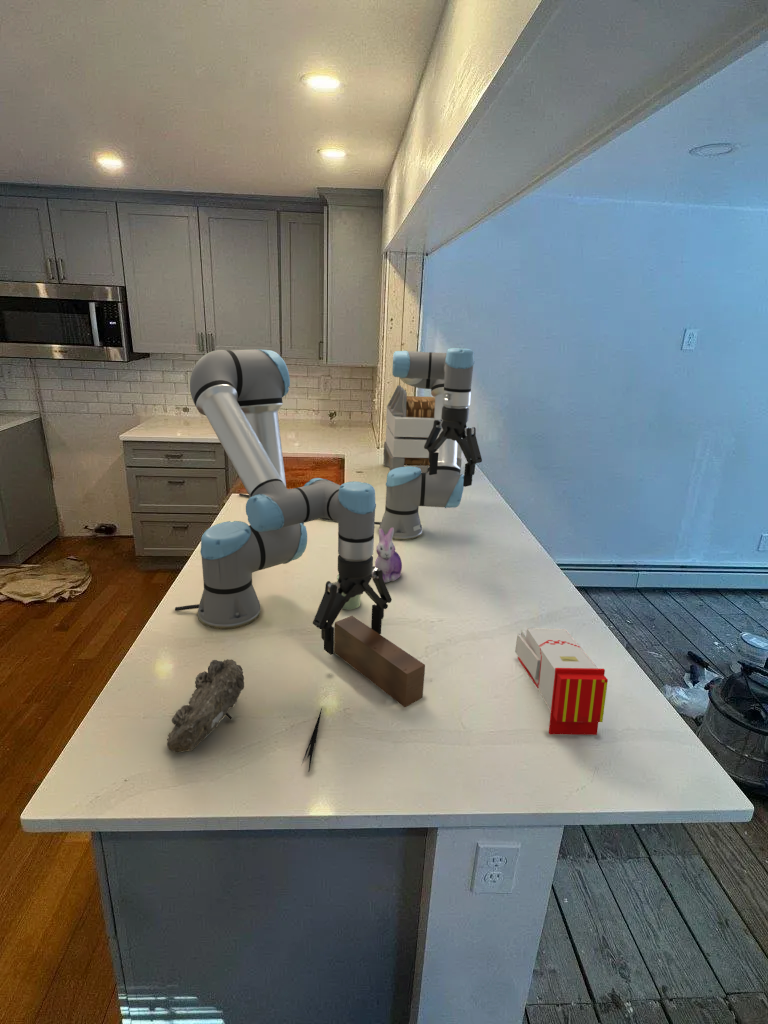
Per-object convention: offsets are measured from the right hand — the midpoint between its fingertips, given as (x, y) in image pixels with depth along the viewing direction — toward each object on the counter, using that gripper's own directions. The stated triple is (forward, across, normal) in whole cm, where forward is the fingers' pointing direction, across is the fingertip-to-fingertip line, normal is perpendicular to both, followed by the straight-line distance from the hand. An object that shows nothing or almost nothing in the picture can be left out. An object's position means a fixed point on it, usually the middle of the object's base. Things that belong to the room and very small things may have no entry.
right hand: (449, 479), depth 164 cm
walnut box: (+29, +28, -50) cm, 64 cm away
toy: (+29, +55, -24) cm, 67 cm away
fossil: (+29, +20, -84) cm, 90 cm away
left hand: (+25, +20, -50) cm, 59 cm away
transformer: (+29, -82, +70) cm, 111 cm away
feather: (+29, +33, -68) cm, 81 cm away
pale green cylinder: (+29, 0, -36) cm, 46 cm away
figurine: (+29, -6, -17) cm, 34 cm away
